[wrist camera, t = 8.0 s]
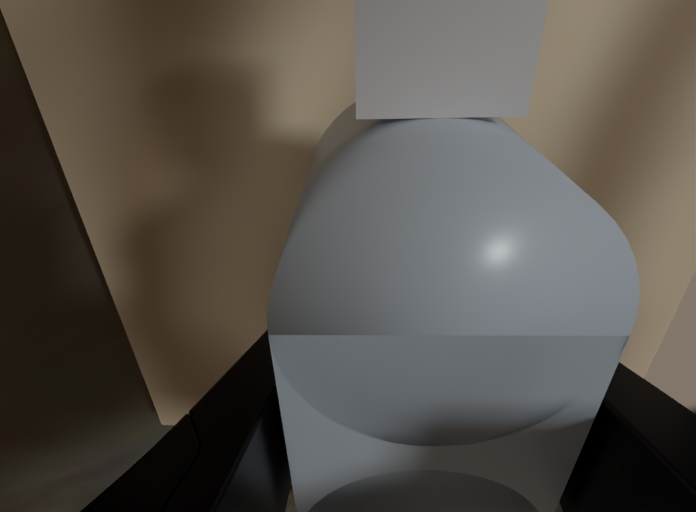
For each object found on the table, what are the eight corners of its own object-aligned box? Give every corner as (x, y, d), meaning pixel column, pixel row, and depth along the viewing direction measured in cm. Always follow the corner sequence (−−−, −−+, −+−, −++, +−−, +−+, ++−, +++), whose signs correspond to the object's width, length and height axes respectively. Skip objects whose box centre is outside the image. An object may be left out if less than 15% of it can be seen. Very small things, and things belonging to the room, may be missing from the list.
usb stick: (472, 417, 13) (518, 595, 9) (325, 416, 13) (309, 590, 9) (572, -89, 6) (862, -206, 3) (285, -80, 7) (184, -177, 3)
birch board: (886, -235, 9) (954, -266, 8) (605, 406, 19) (619, 429, 18) (-40, -195, 10) (-87, -217, 9) (172, 402, 20) (161, 424, 19)
